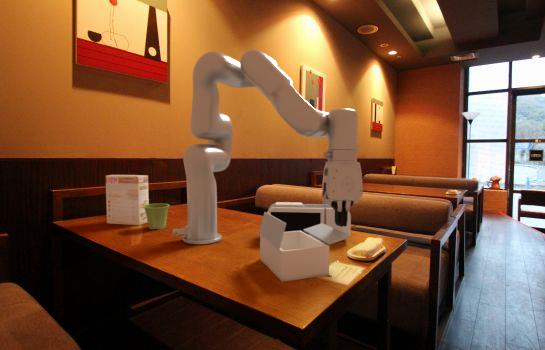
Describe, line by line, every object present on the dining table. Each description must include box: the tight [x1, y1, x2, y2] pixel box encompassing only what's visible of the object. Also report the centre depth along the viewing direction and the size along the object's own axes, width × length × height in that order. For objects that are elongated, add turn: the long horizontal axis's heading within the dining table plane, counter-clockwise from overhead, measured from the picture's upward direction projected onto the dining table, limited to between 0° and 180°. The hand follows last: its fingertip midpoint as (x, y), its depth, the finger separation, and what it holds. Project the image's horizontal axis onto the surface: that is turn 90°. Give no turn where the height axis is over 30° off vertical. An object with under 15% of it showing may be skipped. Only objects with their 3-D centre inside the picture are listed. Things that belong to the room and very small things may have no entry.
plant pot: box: [143, 203, 171, 230], centre depth 121 cm, size 9×9×9 cm
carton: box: [259, 231, 330, 283], centre depth 81 cm, size 12×16×7 cm
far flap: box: [304, 223, 351, 246], centre depth 84 cm, size 6×14×1 cm, turn 20°
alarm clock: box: [266, 201, 352, 242], centre depth 109 cm, size 27×9×12 cm, turn 86°
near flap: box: [258, 211, 286, 249], centre depth 79 cm, size 6×14×1 cm
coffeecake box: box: [105, 174, 150, 226], centre depth 129 cm, size 15×7×20 cm, turn 77°
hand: (340, 225), depth 85 cm, fingers closed
